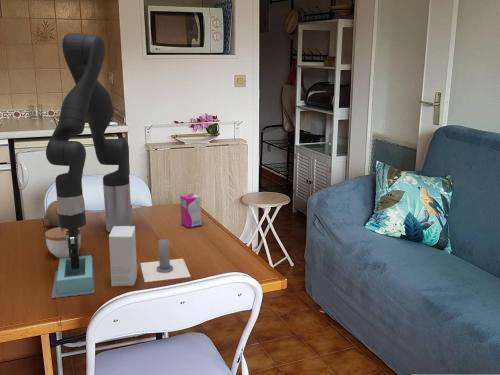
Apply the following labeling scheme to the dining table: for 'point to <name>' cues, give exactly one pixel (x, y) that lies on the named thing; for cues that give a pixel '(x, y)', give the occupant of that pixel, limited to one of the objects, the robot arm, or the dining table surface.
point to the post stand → (164, 266)
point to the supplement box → (190, 210)
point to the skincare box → (123, 255)
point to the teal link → (75, 282)
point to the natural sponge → (52, 214)
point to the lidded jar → (57, 242)
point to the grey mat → (55, 293)
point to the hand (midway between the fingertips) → (76, 263)
